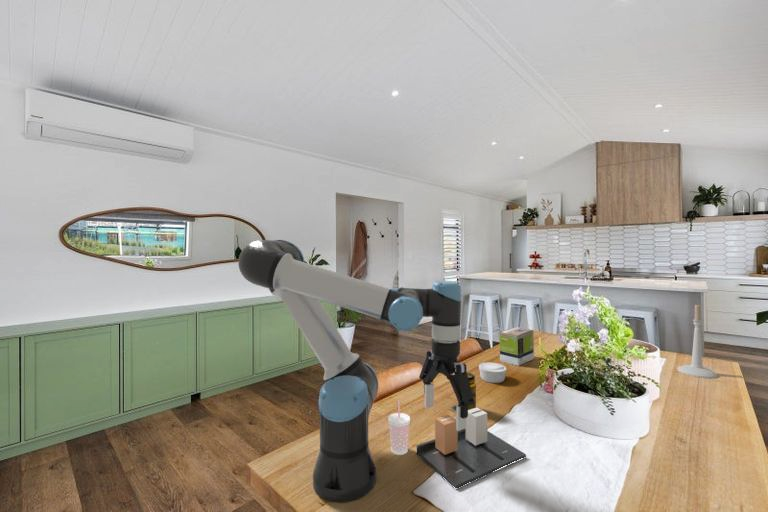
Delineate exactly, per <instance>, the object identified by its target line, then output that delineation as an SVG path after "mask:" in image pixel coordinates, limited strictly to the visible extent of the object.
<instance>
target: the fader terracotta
mask: <svg viewBox="0 0 768 512" xmlns="http://www.w3.org/2000/svg"><path fill="white" fill-rule="evenodd" d="M434 423H435V424H434V425H435V427H434V431H435V432H434V433H435V436H434V437H435V438H434V439H435V447H436V448H437V449H438V450H439V451H441V452H442V453H443V454H444V455H446V454H448V453H451V452H454V451H456V450H458V431H457V430H456V418H454V417H453V416H451V415H449V414H446V415H442V416H441V415H440V416H439V417H436V418H434Z"/></svg>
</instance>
